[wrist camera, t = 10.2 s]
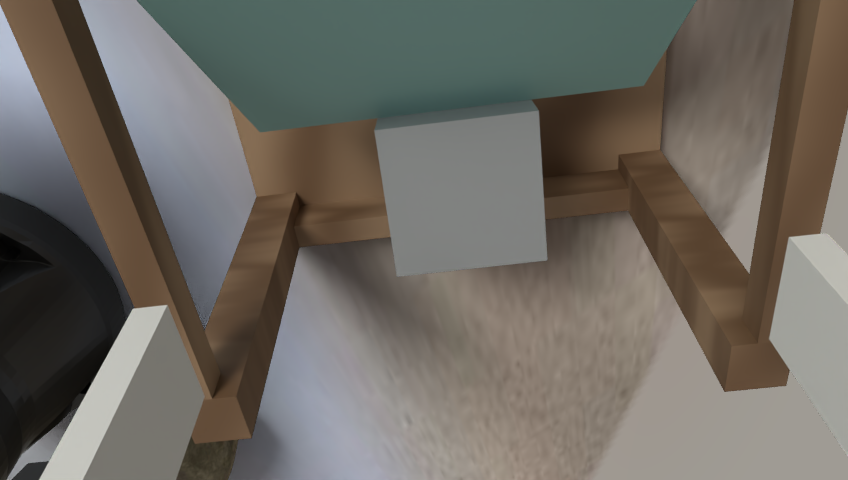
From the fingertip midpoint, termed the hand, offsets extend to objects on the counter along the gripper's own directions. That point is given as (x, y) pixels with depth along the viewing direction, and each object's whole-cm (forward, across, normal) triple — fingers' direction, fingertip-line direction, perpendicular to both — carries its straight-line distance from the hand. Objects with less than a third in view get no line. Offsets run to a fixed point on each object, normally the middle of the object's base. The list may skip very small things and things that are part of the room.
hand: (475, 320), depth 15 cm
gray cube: (+15, 0, -1) cm, 15 cm away
